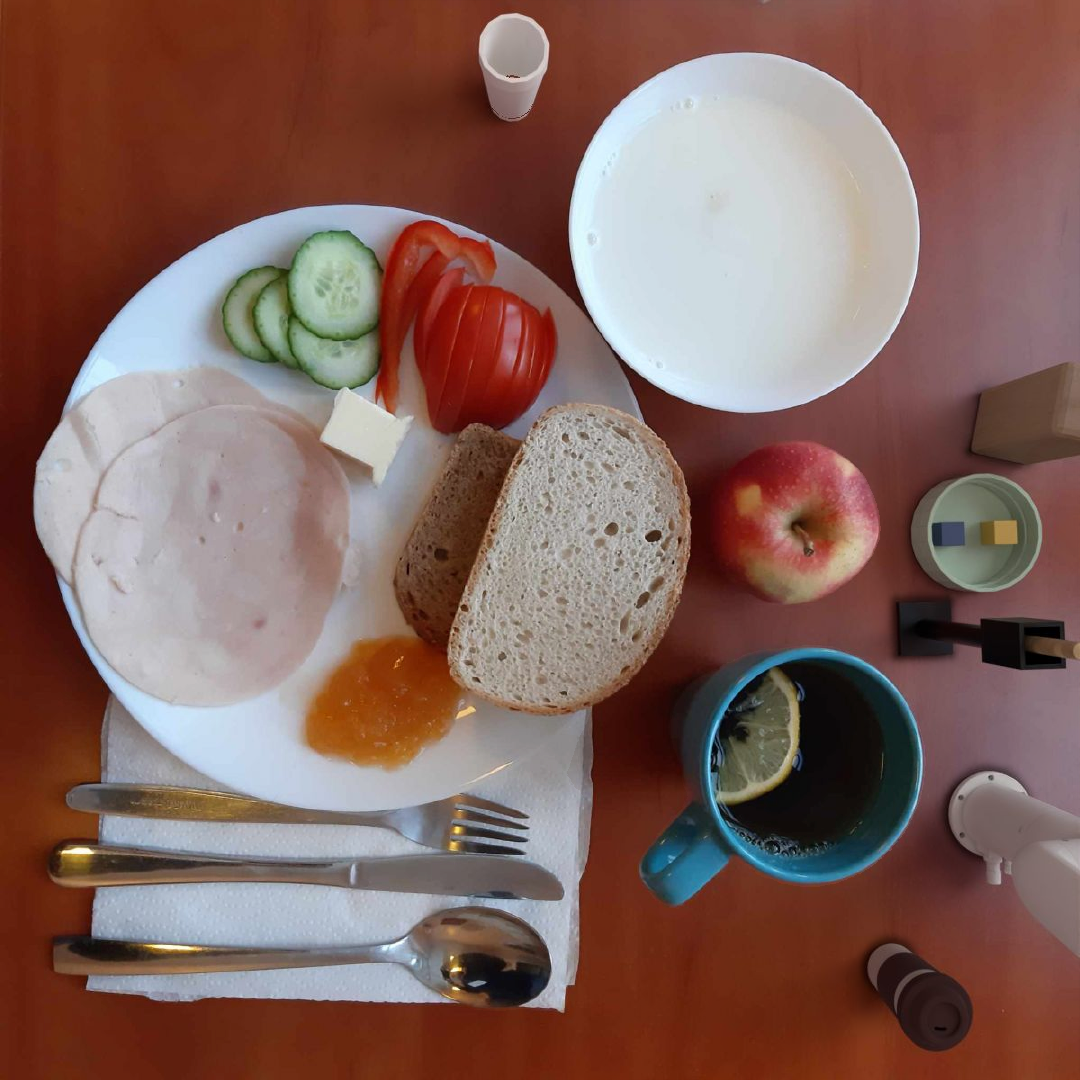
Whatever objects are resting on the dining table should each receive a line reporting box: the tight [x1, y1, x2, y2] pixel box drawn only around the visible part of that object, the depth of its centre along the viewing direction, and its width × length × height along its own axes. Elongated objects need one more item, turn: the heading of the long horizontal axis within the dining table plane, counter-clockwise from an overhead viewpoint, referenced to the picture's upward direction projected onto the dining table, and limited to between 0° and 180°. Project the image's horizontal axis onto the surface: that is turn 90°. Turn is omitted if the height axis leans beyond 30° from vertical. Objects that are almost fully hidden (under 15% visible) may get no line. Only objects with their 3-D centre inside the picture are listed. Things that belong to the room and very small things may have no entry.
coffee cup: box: [867, 943, 974, 1053], centre depth 119 cm, size 10×10×15 cm
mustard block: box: [980, 520, 1018, 545], centre depth 127 cm, size 4×4×4 cm
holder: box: [895, 600, 1067, 671], centre depth 115 cm, size 8×8×28 cm
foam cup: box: [478, 12, 550, 123], centre depth 120 cm, size 10×9×13 cm
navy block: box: [931, 522, 965, 546], centre depth 127 cm, size 4×4×4 cm
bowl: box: [910, 473, 1043, 593], centre depth 126 cm, size 17×17×6 cm
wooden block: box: [971, 360, 1080, 466], centre depth 120 cm, size 10×10×20 cm
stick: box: [1024, 635, 1080, 661], centre depth 101 cm, size 2×2×14 cm
